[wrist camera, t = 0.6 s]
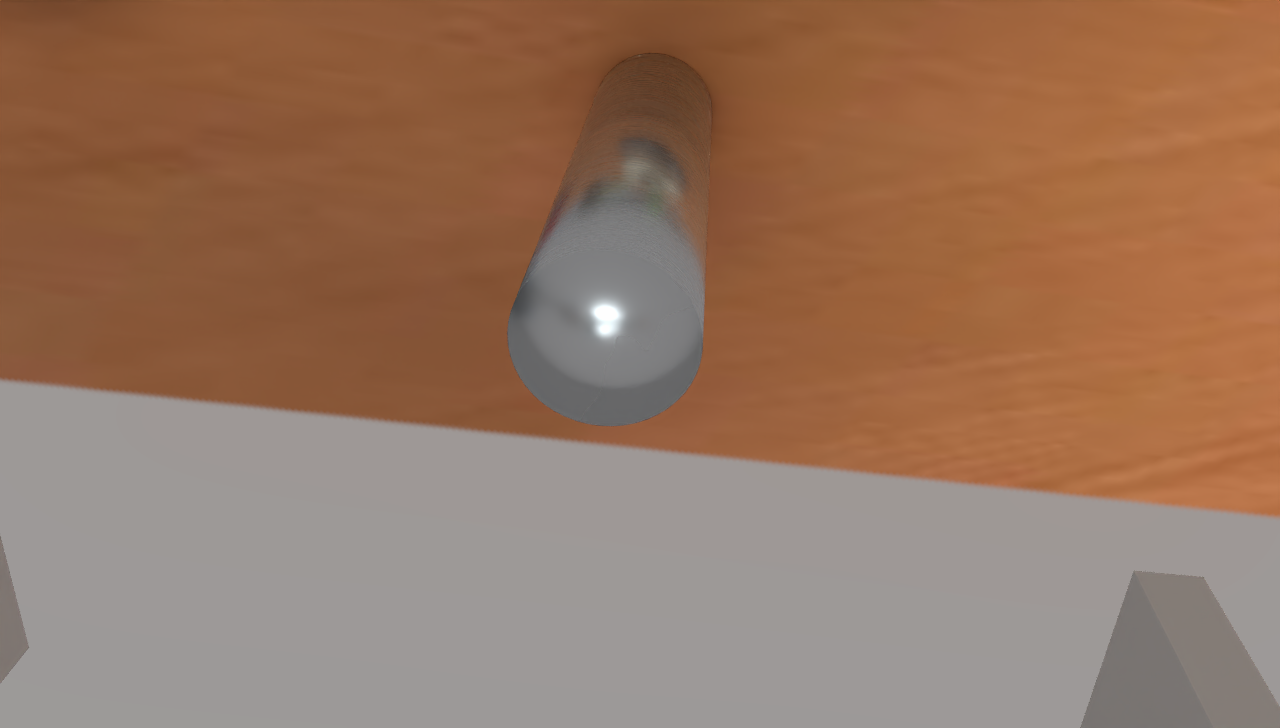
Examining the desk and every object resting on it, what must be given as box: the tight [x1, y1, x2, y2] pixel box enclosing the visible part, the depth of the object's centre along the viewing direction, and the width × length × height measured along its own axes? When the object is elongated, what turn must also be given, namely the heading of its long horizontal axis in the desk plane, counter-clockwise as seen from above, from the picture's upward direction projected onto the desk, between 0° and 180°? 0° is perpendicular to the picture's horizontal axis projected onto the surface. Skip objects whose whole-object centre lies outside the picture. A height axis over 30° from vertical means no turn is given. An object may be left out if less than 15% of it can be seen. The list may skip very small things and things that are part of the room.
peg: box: [507, 53, 712, 426], centre depth 27 cm, size 4×4×15 cm
